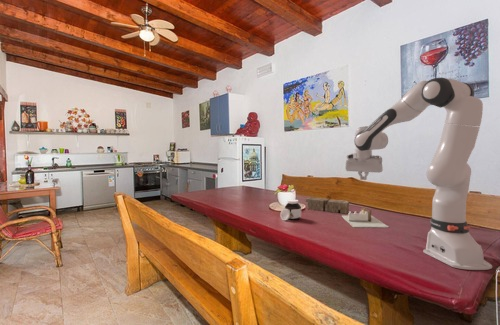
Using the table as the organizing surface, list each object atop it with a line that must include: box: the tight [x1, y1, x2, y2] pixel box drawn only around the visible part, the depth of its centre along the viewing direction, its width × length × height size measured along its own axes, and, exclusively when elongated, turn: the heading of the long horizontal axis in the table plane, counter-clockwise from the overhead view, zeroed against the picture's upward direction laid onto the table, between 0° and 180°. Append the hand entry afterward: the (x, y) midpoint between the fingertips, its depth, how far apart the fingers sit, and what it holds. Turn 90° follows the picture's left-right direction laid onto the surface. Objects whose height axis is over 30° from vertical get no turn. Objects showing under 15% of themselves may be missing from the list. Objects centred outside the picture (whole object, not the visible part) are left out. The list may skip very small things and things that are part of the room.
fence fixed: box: [361, 206, 372, 222], centre depth 161 cm, size 13×2×7 cm, turn 176°
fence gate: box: [347, 210, 368, 221], centre depth 156 cm, size 11×1×5 cm, turn 83°
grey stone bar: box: [305, 196, 350, 215], centre depth 186 cm, size 8×8×29 cm
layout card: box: [341, 215, 390, 229], centre depth 157 cm, size 24×19×1 cm
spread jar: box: [279, 199, 302, 221], centre depth 165 cm, size 12×11×12 cm
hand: (363, 179), depth 150 cm, fingers closed
